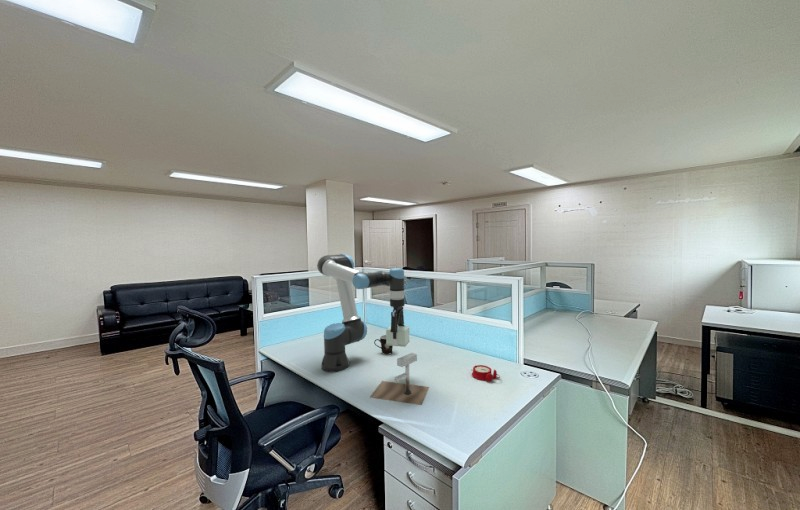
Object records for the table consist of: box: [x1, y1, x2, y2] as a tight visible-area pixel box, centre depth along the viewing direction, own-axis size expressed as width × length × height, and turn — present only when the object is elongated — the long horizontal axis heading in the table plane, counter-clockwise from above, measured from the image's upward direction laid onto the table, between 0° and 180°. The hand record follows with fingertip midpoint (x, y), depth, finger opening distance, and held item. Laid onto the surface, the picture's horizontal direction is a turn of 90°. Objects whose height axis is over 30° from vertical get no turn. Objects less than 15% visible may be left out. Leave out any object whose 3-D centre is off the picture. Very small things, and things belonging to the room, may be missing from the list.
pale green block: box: [385, 325, 411, 348], centre depth 156 cm, size 10×8×8 cm
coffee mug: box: [374, 334, 394, 355], centre depth 193 cm, size 12×9×10 cm
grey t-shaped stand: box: [394, 352, 418, 392], centre depth 138 cm, size 12×3×16 cm, turn 135°
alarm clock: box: [471, 364, 501, 383], centre depth 156 cm, size 10×6×15 cm
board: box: [369, 380, 430, 406], centre depth 140 cm, size 24×16×2 cm
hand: (397, 341), depth 156 cm, fingers closed on pale green block, 8 cm apart
